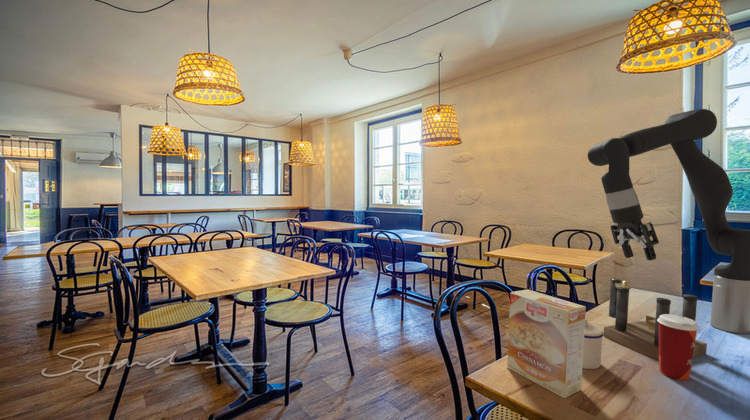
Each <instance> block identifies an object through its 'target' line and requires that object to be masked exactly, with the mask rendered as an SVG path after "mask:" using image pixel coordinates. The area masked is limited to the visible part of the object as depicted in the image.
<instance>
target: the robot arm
mask: <svg viewBox="0 0 750 420" xmlns="http://www.w3.org/2000/svg"><path fill="white" fill-rule="evenodd" d="M666 118H667V119H665V122H664V124H660V125H657V126H651V127H647V128H642V129H639V130H635V131H633V132H629V133H627V134H624V135H622V136H619V137H612V138H609V139H607V140H603V141H601V142H599V143H596V144H594V145H592V146H591V147H590V148H589V150H588V152H587V159H588V161H589V163H590V164H592V165H593V166H596V167H602V166H603V167H604V166H607V165H608V171H607V172H606V173H604V174H603V175H602V176H601V184H602V187H603V190H604V194H605V197H606V198H605V200H606V203H607V207H608V210H609V214H610V216H611V220H612V222H613V223H614V224H613V225H610V230H611V234H612V238H613V242H614V244H616V245H619V246H620V247H621V248H622V249H621V250H622V252H623V255H624V257H625V259H626V258H627V259H629V258H633V257H634V252H633V249H632V246H631V244H630V242H631V240H634V241H635V242H636V243H639V244H640V245H641V246H642V247H643V248H642V249H643V251H644V255H645V258H646V260H647V261H654V260H656V259H657V254H656V252H655V248H654V246H655V245H658V244H659V243H660V241H659V239H658V236H657V233H656V231H655V228H654V225H653V223H652V222H649V223H643V222H642V219H644V213H643V210H642V207H641V204H640V201H639V197H638V194H637V193H636V190H635V188H634V185H633V182H632V179H631V176H630V158H631V157H635V156H639V155H642V154H644V153H648V152H650V151H654V150H656V149H659V148H663V147H665V146H669V145H670V146H671V147H672V149H673V151H674V154H675V155H676V157H677V159H678V160H679V164H680V165H681V167H682V170H683V172H684V173H685V176H686V178H687V182H688V185H689V187H690V190H691V193H692V195H693V197H694V199H695V202H696V204H697V206H698V209H699V212H700V214H701V218H702V221H703V225H704V229H705V233H706V237H707V241H708V244H709V246H710V248H711V250H712V251H713V252H715V253H716V254H719V255H723V256H727V257H732V258H731V261H730V263H727V264H722V265H717V266H715V267H714V269H713V281H712V282H713V283H712V297H711V311H710V323H709V324H710V326H712V327H714V328H716V329H718V330H720V331H721V330H722V331H726V332H730V333H735V334H742V335H743V334H746V335H747V334H750V230H749V229H742V228H734V227H731V226H730V225H729V222H728V220H727V217H726V211H727V208H728V206H729V205H730V202H731V200H732V198H733V196H734V195H733V193H734V190H733V187H732V184H731V181H730V178H729V176H728V173H727V172H726V170H725V169H724V168H723V167H722V166H721V165H719V164H718V163H717V162H715V161H714V160H713V159H712V158H710V157H708V156H707V155H706V154H704V153H703V152H702V151H701V149H700V148H699V147H698V145H697V143H696V140H701V139H704V138H707V137H709V136H710V135H712V134H713V133H714V131H715V130H716V129H717V125H718V120H717V116H716V114H715V113H714V112H713V111H712V110H709V109H706V108H697V109H696V108H695V109H691V110H688V111H687V110H686V111H684V112H679V113H676V114H673V115H670V116H668V117H666Z"/></svg>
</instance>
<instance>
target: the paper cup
mask: <svg viewBox="0 0 750 420" xmlns="http://www.w3.org/2000/svg"><path fill="white" fill-rule="evenodd" d="M657 321H658V322H659V360H658V368H659V369H658V371H659V372H660V374H662V375H664V376H666V377H668V378H670V379H672V380H678V381H683V382H684V381H689V379H690V375H691V370H692V363H693V358H694V357H693V352H694V345H695V339H696V338H697V332H698V331H699V329H700V328H699V326H698V323H697V322H696V320H695V321H694V320H692V319H689V318H686V317H683V316H682V315H679V314H678V315H677V314H671V313H670V314H662V315H660V316H659V318H658V319H657ZM696 340H697V339H696Z"/></svg>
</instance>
